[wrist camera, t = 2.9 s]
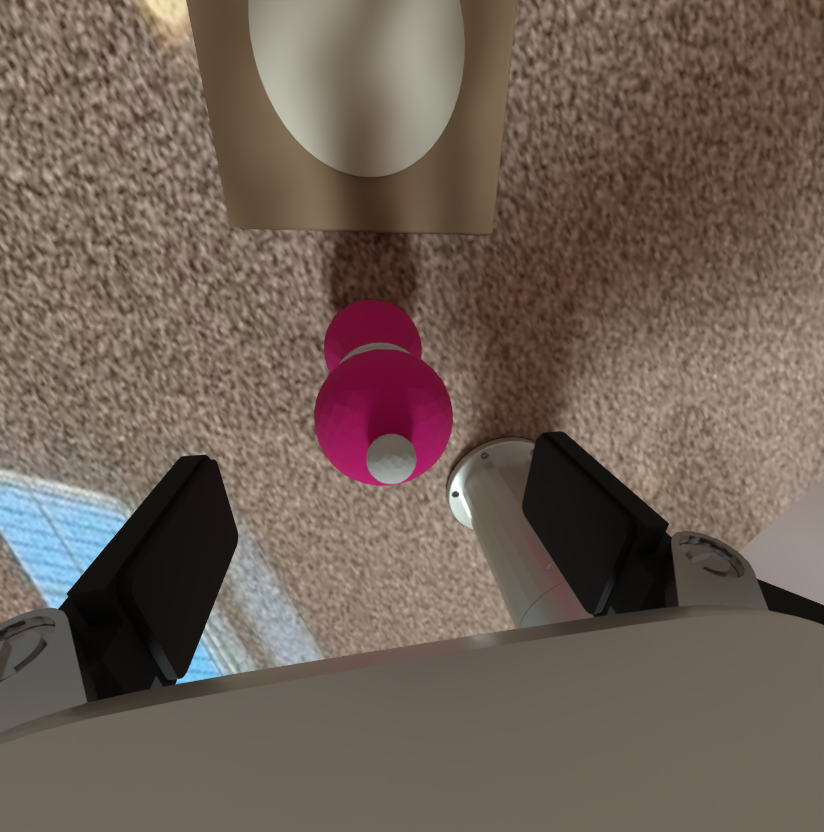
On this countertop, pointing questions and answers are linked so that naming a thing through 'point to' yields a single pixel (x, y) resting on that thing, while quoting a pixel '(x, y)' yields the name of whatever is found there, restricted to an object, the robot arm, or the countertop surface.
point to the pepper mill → (380, 397)
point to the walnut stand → (357, 111)
